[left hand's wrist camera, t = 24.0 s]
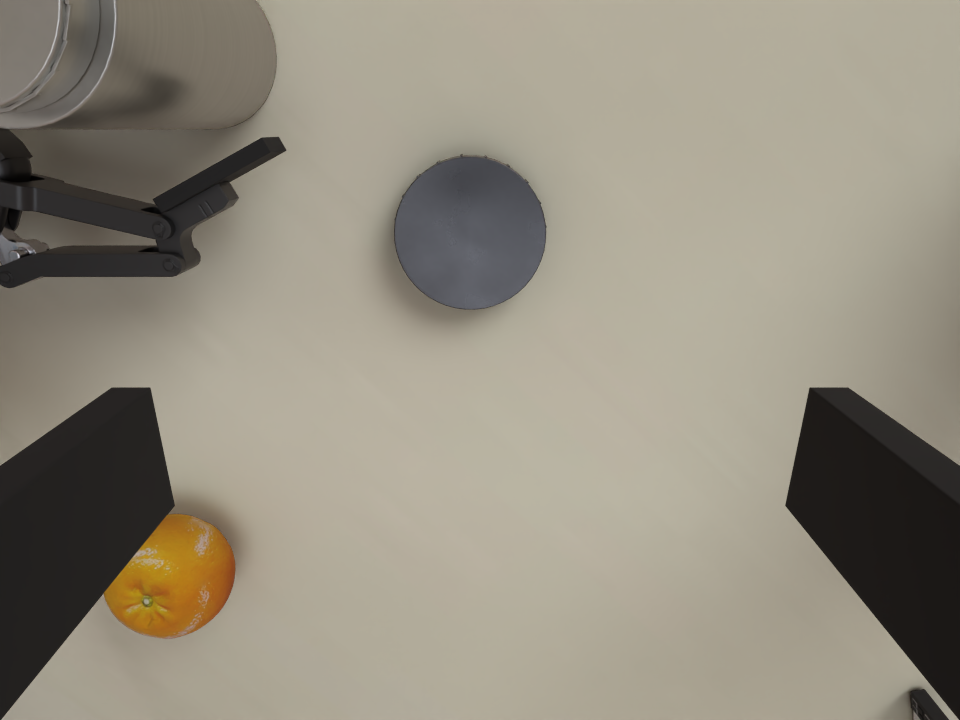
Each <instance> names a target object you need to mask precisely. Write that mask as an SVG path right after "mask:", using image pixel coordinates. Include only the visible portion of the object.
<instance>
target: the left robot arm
mask: <svg viewBox="0 0 960 720" xmlns="http://www.w3.org/2000/svg"><path fill="white" fill-rule="evenodd" d="M174 506H175V505H174V500H173V495H172V490H171V485H170V481H169V476H168V471H167V466H166V461H165V456H164V452H163V447H162V442H161V437H160V432H159V427H158V422H157V418H156V413H155V408H154V403H153V398H152V393H151V389H150V388H111V389H109V390H108V391H106V392H105V393H104V394H102V395H101V396H99V397H98V398H96V399H95V400H94V401H92V402H91V403H89V404H88V405H86V406H85V407H84V408H82V409H81V410H79V411H78V412H76V413H75V414H74V415H72V416H71V417H69V418H68V419H66V420H65V421H64V422H62V423H61V424H59V425H58V426H56V427H55V428H54V429H52V430H51V431H49V432H48V433H46V434H45V435H44V436H42V437H41V438H39V439H38V440H36V441H35V442H34V443H32V444H31V445H29V446H28V447H27V448H25V449H24V450H22V451H21V452H19V453H18V454H17V455H15V456H14V457H12V458H11V459H9V460H8V461H7V462H5V463H4V464H2V465H1V466H0V720H1V719H2V718H3V717H4V715H5V714H6V713H7V712H8V710H9V709H10V708H11V707H12V705H13V704H14V703H15V702H16V701H17V699H18V698H19V697H20V696H21V694H22V693H23V692H24V691H25V689H26V688H27V687H28V686H29V685H30V683H31V682H32V681H33V680H34V678H35V677H36V676H37V675H38V673H39V672H40V671H41V670H42V668H43V667H44V666H45V665H46V664H47V662H48V661H49V660H50V659H51V657H52V656H53V655H54V654H55V652H56V651H57V650H58V649H59V648H60V646H61V645H62V644H63V643H64V641H65V640H66V639H67V638H68V636H69V635H70V634H71V633H72V632H73V630H74V629H75V628H76V627H77V625H78V624H79V623H80V622H81V620H82V619H83V618H84V617H85V616H86V614H87V613H88V612H89V611H90V609H91V608H92V607H93V606H94V604H95V603H96V602H97V601H98V599H99V598H100V597H101V596H102V595H103V593H104V592H105V591H106V590H107V588H108V587H109V586H110V585H111V583H112V582H113V581H114V580H115V579H116V577H117V576H118V575H119V574H120V572H121V571H122V570H123V569H124V567H125V566H126V565H127V564H128V563H129V561H130V560H131V559H132V558H133V556H134V555H135V554H136V553H137V551H138V550H139V549H140V548H141V547H142V545H143V544H144V543H145V542H146V540H147V539H148V538H149V537H150V535H151V534H152V533H153V532H154V531H155V529H156V528H157V527H158V526H159V524H160V523H161V522H162V521H163V519H164V518H165V517H166V516H167V514H168V513H169V512H170V511H171V510H172V508H173V507H174ZM785 506H786V507H787V508H788V510H789V511H790V512H791V513H792V514H793V516H794V517H795V518H796V519H797V521H798V522H799V523H800V524H801V526H802V527H803V528H804V529H805V531H806V532H807V533H808V534H809V535H810V537H811V538H812V539H813V540H814V542H815V543H816V544H817V545H818V547H819V548H820V549H821V550H822V551H823V553H824V554H825V555H826V556H827V558H828V559H829V560H830V561H831V563H832V564H833V565H834V566H835V567H836V569H837V570H838V571H839V572H840V574H841V575H842V576H843V577H844V579H845V580H846V581H847V582H848V583H849V585H850V586H851V587H852V588H853V590H854V591H855V592H856V593H857V595H858V596H859V597H860V598H861V599H862V601H863V602H864V603H865V604H866V606H867V607H868V608H869V609H870V611H871V612H872V613H873V614H874V616H875V617H876V618H877V619H878V620H879V622H880V623H881V624H882V625H883V627H884V628H885V629H886V630H887V632H888V633H889V634H890V635H891V636H892V638H893V639H894V640H895V641H896V643H897V644H898V645H899V646H900V648H901V649H902V650H903V651H904V652H905V654H906V655H907V656H908V657H909V659H910V660H911V661H912V662H913V664H914V665H915V666H916V667H917V668H918V670H919V671H920V672H921V673H922V675H923V676H924V677H925V678H926V680H927V681H928V682H929V683H930V685H931V686H932V687H933V688H934V689H935V691H936V692H937V693H938V694H939V696H940V697H941V698H942V699H943V701H944V702H945V703H946V704H947V705H948V707H949V708H950V709H951V710H952V712H953V713H954V714H955V715H956V717H957V718H958V719H959V720H960V466H959V465H958V464H956V463H955V462H953V461H952V460H951V459H949V458H948V457H946V456H945V455H943V454H942V453H941V452H939V451H938V450H936V449H935V448H933V447H932V446H931V445H929V444H928V443H926V442H925V441H924V440H922V439H921V438H919V437H918V436H916V435H915V434H914V433H912V432H911V431H909V430H908V429H906V428H905V427H904V426H902V425H901V424H899V423H898V422H896V421H895V420H894V419H892V418H891V417H889V416H888V415H886V414H885V413H884V412H882V411H881V410H879V409H878V408H876V407H875V406H874V405H872V404H871V403H869V402H868V401H866V400H865V399H864V398H862V397H861V396H859V395H858V394H856V393H855V392H854V391H852V390H851V389H849V388H810V389H809V393H808V398H807V403H806V408H805V413H804V418H803V422H802V427H801V432H800V437H799V442H798V447H797V452H796V456H795V461H794V466H793V471H792V476H791V481H790V485H789V490H788V495H787V500H786V505H785Z"/></svg>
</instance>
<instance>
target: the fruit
mask: <svg viewBox="0 0 960 720" xmlns="http://www.w3.org/2000/svg"><path fill="white" fill-rule="evenodd" d="M234 576H235V560H234V555H233V551H232V549H231V547H230V545H229V544H228V542H227V540H226V539H225V537H224V536H223V535H222V534H221V532H220V531H219V530H218V529H217V528H216V527H214V526H213V525H211V524H210V523H207V522H205V521H203V520H201V519H198V518H196V517H194V516H189V515H182V514H169V515H167V516H166V517H165V518H164V519H163V521H162V522H161V523H160V524H159V526H158V527H157V528H156V529H155V531H154V532H153V533H152V534H151V535H150V537H149V538H148V539H147V540H146V542H145V543H144V544H143V545H142V547H141V548H140V549H139V550H138V551H137V553H136V554H135V555H134V556H133V558H132V559H131V560H130V561H129V563H128V564H127V565H126V566H125V567H124V569H123V570H122V571H121V572H120V574H119V575H118V576H117V577H116V579H115V580H114V581H113V582H112V583H111V585H110V586H109V587H108V588H107V590H106V591H105V592H104V597H105V600H106V602H107V605H108V607H109V609H110V610H111V612H112V613H113V615H114V616H115V617H116V618H117V619H118V620H119V621H120V622H121V623H122V624H124V625H125V626H126V627H128V628H129V629H131V630H133V631H135V632H137V633H140V634H143V635H146V636H152V637H157V638H165V639H168V638H176V637H180V636H183V635H186V634H189V633H192V632H194V631H196V630H198V629H199V628H201V627H203V626H204V625H205V624H207V623H208V622H209V621H210V620H212V619H213V618H214V617H215V616H216V615H217V614H218V613H219V611H220V610H221V609H222V608H223V606H224V604H225V603H226V601H227V599H228V597H229V595H230V592H231V589H232V587H233V583H234Z"/></svg>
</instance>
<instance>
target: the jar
mask: <svg viewBox="0 0 960 720" xmlns="http://www.w3.org/2000/svg"><path fill="white" fill-rule="evenodd" d="M275 72H276V47H275V42H274V37H273V33H272V30H271V27H270V24H269V22H268V20H267V18H266V16H265V14H264V12H263V10H262V9H261V7H260V6H259V4H258V3H257V1H256V0H0V128H3V129H222V128H228V127H231V126H235V125H237V124H239V123H241V122H244V121H245V120H247V119H248V118H250V117H251V116H252V115H253V114H254V113H255V112H257V111H258V109H259V108H260V107H261V106H262V105H263V103H264V102H265V100H266V98H267V97H268V95H269V93H270V90H271V88H272V85H273V81H274V78H275Z"/></svg>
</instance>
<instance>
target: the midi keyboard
mask: <svg viewBox="0 0 960 720" xmlns="http://www.w3.org/2000/svg"><path fill="white" fill-rule="evenodd" d="M911 708H912V709H913V715H914V720H949V719H948V718H947V717H946V715H945V714H944V713H943V712H942V710H941V709H940V708H939V707H938V705H937V704H936V703H935V702H934V700H933V699H932V698H931V697H930V695H929V694H928V693H927V692H926V690H924V689H921V690H916V691H911Z"/></svg>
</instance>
